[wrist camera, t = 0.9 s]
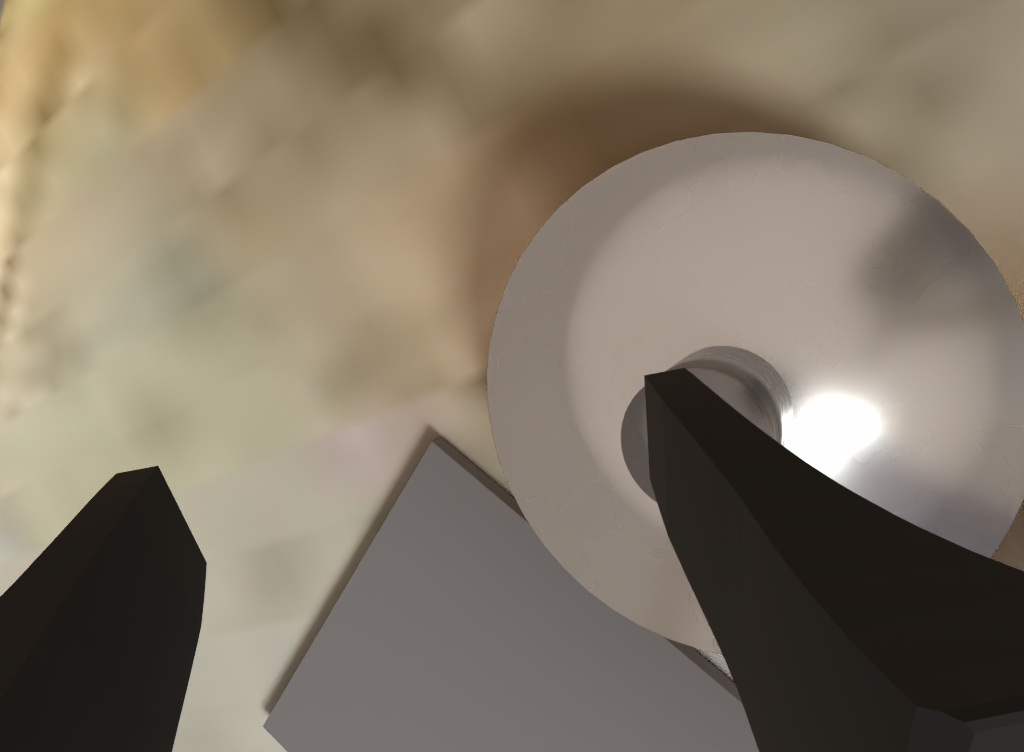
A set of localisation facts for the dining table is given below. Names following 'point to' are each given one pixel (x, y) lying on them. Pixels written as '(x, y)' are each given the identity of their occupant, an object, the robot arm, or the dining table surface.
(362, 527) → the dining table surface
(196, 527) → the dining table surface
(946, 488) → the steel lid
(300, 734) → the charcoal mat
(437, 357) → the dining table surface
